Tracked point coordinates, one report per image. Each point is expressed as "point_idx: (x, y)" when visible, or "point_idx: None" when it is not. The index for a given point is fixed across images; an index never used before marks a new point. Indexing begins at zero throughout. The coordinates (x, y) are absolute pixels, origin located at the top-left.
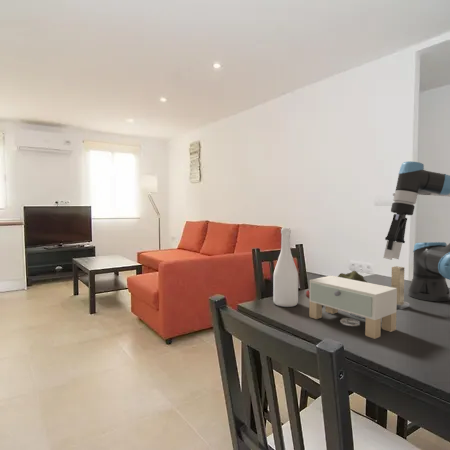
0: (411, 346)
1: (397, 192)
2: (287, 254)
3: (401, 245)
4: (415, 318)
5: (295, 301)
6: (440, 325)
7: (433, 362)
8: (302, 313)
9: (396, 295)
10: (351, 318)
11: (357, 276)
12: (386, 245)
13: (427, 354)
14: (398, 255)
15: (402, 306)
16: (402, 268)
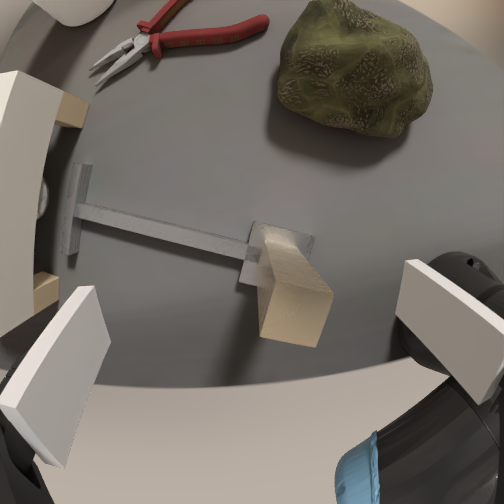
0: (18, 332)
1: None
2: None
3: (467, 386)
4: (172, 328)
5: (72, 22)
6: (160, 380)
7: (4, 358)
8: (39, 75)
9: (4, 332)
10: (44, 190)
11: (367, 65)
12: (25, 360)
13: (15, 353)
14: (411, 325)
15: (248, 282)
16: (289, 341)
